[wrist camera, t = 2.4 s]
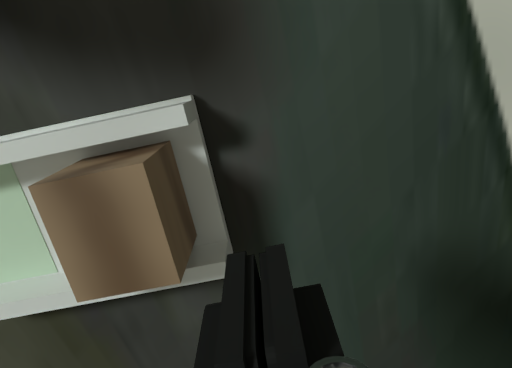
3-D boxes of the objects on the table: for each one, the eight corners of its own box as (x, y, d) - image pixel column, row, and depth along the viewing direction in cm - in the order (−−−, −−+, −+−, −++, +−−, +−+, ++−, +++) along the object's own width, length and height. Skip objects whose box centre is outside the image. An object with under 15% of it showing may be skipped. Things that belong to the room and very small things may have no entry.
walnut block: (170, 140, 23) (142, 162, 17) (197, 235, 25) (180, 283, 19) (83, 158, 23) (27, 186, 18) (116, 250, 25) (77, 302, 20)
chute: (192, 94, 23) (181, 98, 20) (233, 251, 27) (229, 281, 23) (-85, 154, 24) (-147, 169, 21) (-11, 298, 28) (-53, 333, 24)
